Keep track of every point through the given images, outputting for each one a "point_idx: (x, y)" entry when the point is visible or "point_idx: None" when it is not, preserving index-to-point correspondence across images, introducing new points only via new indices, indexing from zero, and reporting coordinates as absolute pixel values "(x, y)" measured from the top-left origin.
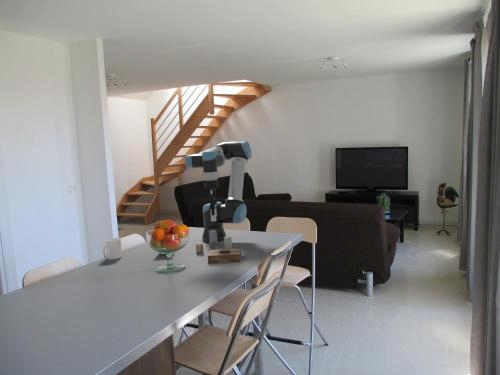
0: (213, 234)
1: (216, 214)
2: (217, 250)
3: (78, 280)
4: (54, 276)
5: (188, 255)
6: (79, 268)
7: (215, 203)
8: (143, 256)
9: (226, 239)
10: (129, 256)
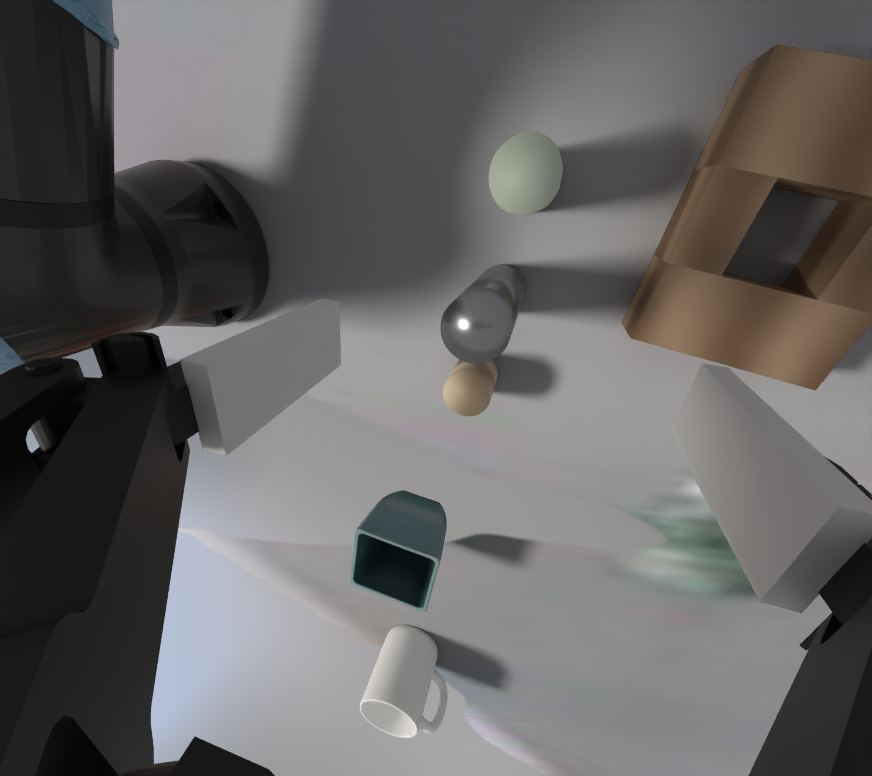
0: (513, 322)
1: (325, 308)
2: (691, 296)
3: (654, 758)
4: (561, 771)
5: (505, 432)
6: (504, 723)
7: (164, 376)
8: (435, 578)
9: (555, 194)
10: (415, 609)
